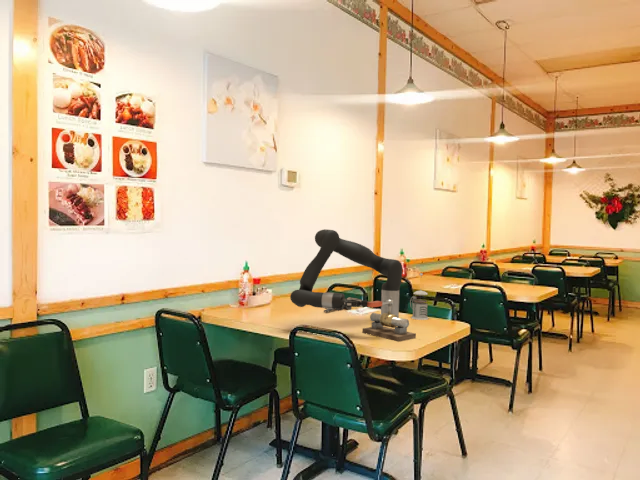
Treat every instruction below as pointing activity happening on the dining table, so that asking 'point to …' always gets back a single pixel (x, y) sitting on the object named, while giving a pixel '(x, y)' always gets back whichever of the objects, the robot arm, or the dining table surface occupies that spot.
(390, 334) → the base board
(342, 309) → the robot arm
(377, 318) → the pipe valve
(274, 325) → the dining table surface
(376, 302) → the valve lever
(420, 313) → the french press
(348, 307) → the valve
